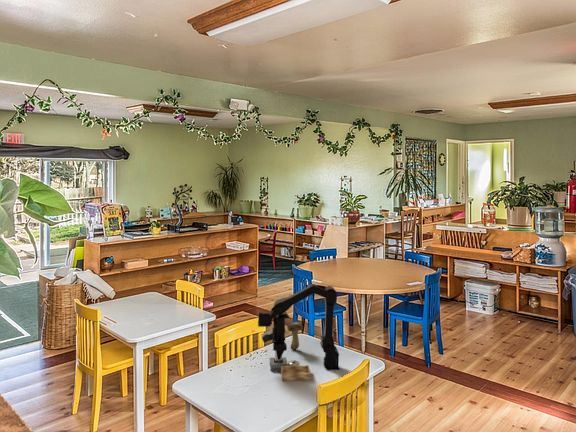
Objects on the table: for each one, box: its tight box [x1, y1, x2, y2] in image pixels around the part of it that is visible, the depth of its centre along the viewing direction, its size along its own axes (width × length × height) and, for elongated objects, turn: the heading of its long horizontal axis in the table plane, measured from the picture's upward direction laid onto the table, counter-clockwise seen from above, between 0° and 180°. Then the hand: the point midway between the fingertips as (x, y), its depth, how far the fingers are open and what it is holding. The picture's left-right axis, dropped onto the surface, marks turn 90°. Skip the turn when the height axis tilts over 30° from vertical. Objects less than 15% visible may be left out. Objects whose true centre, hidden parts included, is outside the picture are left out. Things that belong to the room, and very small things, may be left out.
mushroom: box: [286, 322, 304, 351], centre depth 236 cm, size 9×9×15 cm
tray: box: [280, 364, 312, 382], centre depth 206 cm, size 13×9×3 cm
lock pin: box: [274, 351, 283, 363], centre depth 215 cm, size 4×4×10 cm
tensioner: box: [269, 357, 300, 372], centre depth 215 cm, size 14×8×3 cm, turn 95°
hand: (278, 357), depth 215 cm, fingers closed on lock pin, 3 cm apart
